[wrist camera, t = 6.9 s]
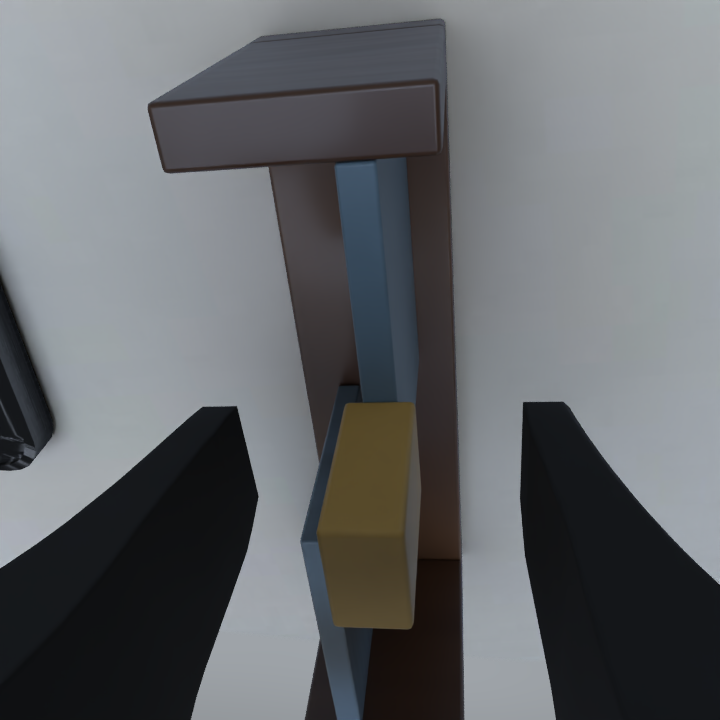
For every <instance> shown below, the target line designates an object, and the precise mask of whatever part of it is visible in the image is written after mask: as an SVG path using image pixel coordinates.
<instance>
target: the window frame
mask: <svg viewBox="0 0 720 720" xmlns="http://www.w3.org/2000/svg"><path fill="white" fill-rule="evenodd" d="M148 113H149V117H150V121H151V125H152V128H153V132H154V136H155V140H156V144H157V148H158V152H159V156H160V160H161V164H162V168H163V170H164V172H166V173H170V174H171V173H186V172H200V171H215V170H230V169H244V168H259V167H269V173H270V179H271V185H272V191H273V196H274V202H275V208H276V214H277V220H278V226H279V231H280V237H281V243H282V249H283V255H284V260H285V266H286V272H287V278H288V284H289V290H290V295H291V301H292V307H293V313H294V319H295V325H296V330H297V336H298V342H299V348H300V354H301V360H302V365H303V371H304V377H305V383H306V389H307V395H308V400H309V406H310V412H311V418H312V424H313V430H314V435H315V441H316V447H317V453H318V459H319V467H318V471H317V475H316V479H315V483H314V488H313V492H312V496H311V500H310V504H309V508H308V512H307V516H306V520H305V524H304V528H303V532H302V536H301V540H300V543H301V547H302V552H303V557H304V562H305V567H306V572H307V576H308V581H309V586H310V591H311V596H312V601H313V605H314V610H315V615H316V620H317V625H318V630H319V634H320V641H319V646H318V652H317V657H316V662H315V668H314V673H313V679H312V684H311V689H310V695H309V700H308V705H307V711H306V717H305V720H464V661H463V587H462V538H461V506H460V474H459V443H458V411H457V379H456V348H455V316H454V284H453V252H452V221H451V189H450V157H449V125H448V94H447V62H446V30H445V22H444V20H442V19H434V20H424V21H414V22H403V23H393V24H383V25H373V26H362V27H352V28H342V29H332V30H321V31H311V32H301V33H291V34H280V35H270V36H261V37H259V38H257V39H256V40H254V41H252V42H251V43H249V44H247V45H246V46H244V47H242V48H241V49H239V50H237V51H236V52H234V53H232V54H231V55H229V56H227V57H226V58H224V59H222V60H221V61H219V62H217V63H216V64H214V65H212V66H211V67H209V68H207V69H206V70H204V71H202V72H201V73H199V74H197V75H196V76H194V77H192V78H191V79H189V80H187V81H185V82H184V83H182V84H180V85H179V86H177V87H175V88H174V89H172V90H170V91H169V92H167V93H165V94H164V95H162V96H160V97H159V98H157V99H155V100H154V101H152V102H150V103H149V104H148ZM391 158H406V163H407V179H408V194H409V209H410V225H411V240H412V256H413V271H414V287H415V302H416V318H417V333H418V348H419V366H418V379H417V392H416V405H415V408H416V422H417V436H418V450H419V464H420V478H421V503H420V520H419V538H418V555H417V573H416V591H415V608H414V624H413V626H412V628H411V629H381V628H353V627H337V626H335V625H334V623H333V620H332V614H331V609H330V604H329V598H328V593H327V588H326V582H325V577H324V572H323V566H322V561H321V556H320V550H319V545H318V540H317V534H316V532H317V527H318V523H319V518H320V514H321V509H322V505H323V500H324V496H325V492H326V487H327V483H328V478H329V474H330V469H331V465H332V460H333V456H334V451H335V447H336V443H337V438H338V434H339V429H340V425H341V420H342V416H343V411H344V407H345V405H346V404H347V403H363V400H362V392H361V383H360V375H359V367H358V359H357V350H356V342H355V334H354V325H353V317H352V309H351V301H350V292H349V284H348V276H347V267H346V259H345V251H344V243H343V234H342V226H341V218H340V209H339V201H338V193H337V185H336V176H335V168H334V167H335V164H336V162H347V161H361V160H376V159H391Z"/></svg>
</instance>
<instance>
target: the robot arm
mask: <svg viewBox="0 0 720 720" xmlns="http://www.w3.org/2000/svg"><path fill="white" fill-rule="evenodd" d="M258 497H259V496H258V492H257V488H256V484H255V480H254V475H253V471H252V467H251V463H250V459H249V455H248V450H247V446H246V442H245V438H244V434H243V430H242V425H241V421H240V417H239V413H238V409H237V406H225V407H202V408H201V409H199V410H198V411H197V412H196V413H194V414H193V415H192V416H191V417H190V418H189V419H187V420H186V421H185V422H184V423H183V424H182V425H181V426H179V427H178V428H177V429H176V430H175V431H174V432H173V433H172V434H171V435H169V436H168V437H167V438H166V439H165V440H164V441H163V442H162V443H160V444H159V445H158V446H157V447H156V448H155V449H154V450H153V451H152V452H150V453H149V454H148V455H147V456H146V457H145V458H144V459H142V460H141V461H140V462H139V463H138V464H137V465H136V466H134V467H133V468H132V469H131V470H130V471H129V472H128V473H126V474H125V475H124V476H123V477H122V478H121V479H120V480H118V481H117V482H116V483H115V484H114V485H112V486H111V487H110V488H109V489H107V490H106V491H105V492H104V493H102V494H101V495H100V496H99V497H97V498H96V499H95V500H94V501H92V502H91V503H90V504H89V505H87V506H86V507H85V508H84V509H82V510H81V511H80V512H79V513H77V514H76V515H75V516H74V517H72V518H71V519H70V520H69V521H68V522H66V523H65V524H63V525H62V526H61V527H59V528H58V529H57V530H55V531H54V532H53V533H51V534H50V535H49V536H47V537H46V538H44V539H43V540H42V541H40V542H39V543H37V544H36V545H34V546H33V547H32V548H30V549H29V550H27V551H26V552H24V553H23V554H21V555H20V556H18V557H17V558H15V559H14V560H12V561H11V562H9V563H8V564H6V565H5V566H3V567H2V568H0V720H191V716H192V712H193V708H194V704H195V700H196V697H197V693H198V690H199V687H200V684H201V681H202V677H203V674H204V671H205V668H206V665H207V662H208V660H209V657H210V654H211V651H212V649H213V646H214V643H215V640H216V637H217V635H218V632H219V629H220V626H221V623H222V621H223V618H224V615H225V612H226V609H227V607H228V604H229V601H230V598H231V596H232V593H233V590H234V587H235V584H236V581H237V578H238V576H239V573H240V570H241V567H242V564H243V561H244V558H245V555H246V552H247V549H248V545H249V540H250V536H251V531H252V527H253V522H254V517H255V512H256V507H257V502H258ZM520 502H521V514H522V527H523V538H524V550H525V558H526V563H527V568H528V573H529V578H530V584H531V589H532V594H533V599H534V604H535V609H536V614H537V619H538V624H539V629H540V634H541V639H542V644H543V649H544V654H545V659H546V664H547V669H548V674H549V679H550V684H551V690H552V696H553V702H554V709H555V715H556V720H720V585H719V584H718V583H717V582H716V581H715V580H714V579H713V578H712V577H711V576H710V575H709V574H708V573H707V572H706V571H704V570H703V569H702V568H701V567H700V566H699V565H698V564H697V563H696V562H695V561H694V560H693V559H692V558H691V557H690V556H689V555H688V554H687V553H686V552H685V551H684V550H683V549H682V548H681V547H680V546H679V545H678V544H677V543H676V542H675V541H674V540H673V539H672V538H671V537H670V536H669V535H668V534H667V533H666V531H665V530H664V529H663V528H662V527H661V526H660V525H659V524H658V523H657V522H656V521H655V519H654V518H653V517H652V516H651V515H650V514H649V513H648V512H647V511H646V509H645V508H644V507H643V506H642V505H641V504H640V503H639V501H638V500H637V499H636V498H635V497H634V496H633V494H632V493H631V492H630V491H629V489H628V488H627V487H626V486H625V484H624V483H623V482H622V481H621V480H620V478H619V477H618V476H617V475H616V473H615V472H614V471H613V470H612V468H611V467H610V466H609V464H608V463H607V462H606V461H605V459H604V458H603V457H602V455H601V454H600V452H599V451H598V450H597V448H596V447H595V446H594V444H593V443H592V441H591V440H590V439H589V437H588V436H587V434H586V433H585V431H584V430H583V428H582V427H581V425H580V424H579V422H578V421H577V419H576V418H575V416H574V414H573V413H572V411H571V409H570V408H569V407H568V406H567V405H566V404H565V403H564V402H523V424H522V456H521V489H520Z"/></svg>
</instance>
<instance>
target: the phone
mask: <svg viewBox="0 0 720 720" xmlns="http://www.w3.org/2000/svg"><path fill="white" fill-rule="evenodd" d="M53 430H54V428H53V422H52V418H51V416H50V413H49V410H48V408H47V405H46V402H45V400H44V397H43V395H42V392H41V389H40V387H39V384H38V381H37V379H36V376H35V373H34V371H33V368H32V365H31V363H30V360H29V358H28V355H27V352H26V350H25V347H24V344H23V342H22V339H21V336H20V334H19V331H18V329H17V326H16V323H15V321H14V318H13V315H12V313H11V310H10V307H9V305H8V302H7V300H6V297H5V294H4V292H3V289H2V286H1V284H0V470H6V471H12V470H21V469H23V468H25V467H27V466H29V465H30V464H31V463H32V461H33V460H34V459H35V458H36V456H37V455H38V454H39V453H40V451H41V450H42V449H43V447H44V446H45V445H46V444H47V442H48V441H49V440H50V438H51V437H52V434H53Z"/></svg>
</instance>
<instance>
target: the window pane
mask: <svg viewBox="0 0 720 720" xmlns="http://www.w3.org/2000/svg"><path fill="white" fill-rule="evenodd" d="M334 168H335V176H336V185H337V193H338V201H339V209H340V218H341V226H342V234H343V243H344V251H345V259H346V267H347V276H348V284H349V292H350V301H351V309H352V317H353V325H354V334H355V342H356V350H357V359H358V367H359V375H360V383H361V392H362V400H363V403H347V404H346V405H345V407H344V411H343V416H342V420H341V425H340V429H339V434H338V438H337V443H336V447H335V451H334V456H333V460H332V465H331V469H330V474H329V478H328V483H327V487H326V492H325V496H324V500H323V505H322V509H321V514H320V518H319V523H318V527H317V532H316V534H317V540H318V545H319V550H320V556H321V561H322V566H323V572H324V577H325V582H326V588H327V593H328V598H329V604H330V609H331V614H332V620H333V623H334V625H335V626H337V627H353V628H381V629H411V628H412V626H413V624H414V608H415V591H416V573H417V555H418V538H419V520H420V503H421V478H420V464H419V450H418V436H417V422H416V408H415V405H416V392H417V379H418V366H419V348H418V333H417V318H416V302H415V287H414V271H413V256H412V240H411V225H410V209H409V194H408V179H407V163H406V158H391V159H376V160H361V161H347V162H336V164H335V167H334Z"/></svg>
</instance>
